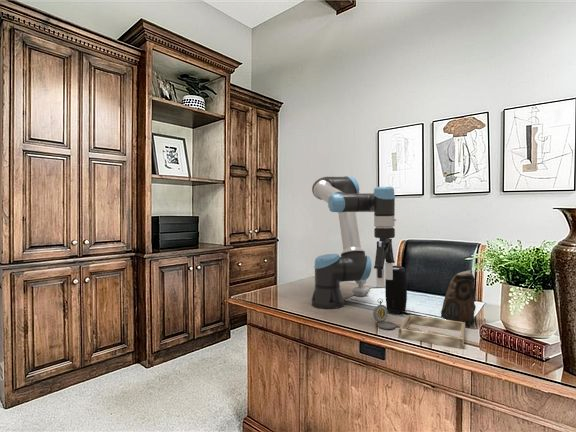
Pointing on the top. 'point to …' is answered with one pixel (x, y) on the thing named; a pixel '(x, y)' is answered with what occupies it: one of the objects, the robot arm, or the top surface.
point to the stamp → (360, 288)
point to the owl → (460, 299)
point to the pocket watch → (382, 317)
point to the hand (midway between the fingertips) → (384, 282)
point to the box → (430, 336)
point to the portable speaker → (396, 291)
